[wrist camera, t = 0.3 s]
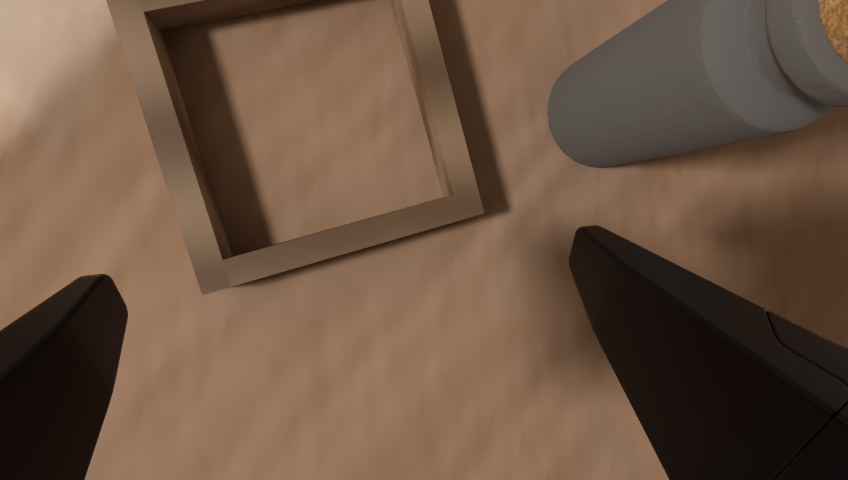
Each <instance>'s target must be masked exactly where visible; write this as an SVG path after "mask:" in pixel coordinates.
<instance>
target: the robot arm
mask: <svg viewBox="0 0 848 480" xmlns="http://www.w3.org/2000/svg"><path fill="white" fill-rule="evenodd" d="M569 266H570V270H571V273H572V275H573V278H574V281H575V284H576V286H577V289H578V292H579V294H580V297H581V300H582V302H583V305H584V308H585V310H586V313H587V316H588V318H589V321H590V323H591V326H592V328H593V330H594V332H595V335H596V337H597V339H598V341H599V343H600V345H601V347H602V349H603V351H604V352H605V354H606V356H607V358H608V360H609V362H610V364H611V366H612V368H613V370H614V372H615V374H616V376H617V378H618V380H619V382H620V384H621V386H622V388H623V390H624V392H625V394H626V396H627V397H628V399H629V401H630V403H631V405H632V407H633V409H634V411H635V413H636V415H637V417H638V419H639V421H640V423H641V425H642V427H643V429H644V431H645V433H646V435H647V437H648V439H649V441H650V442H651V444H652V446H653V448H654V450H655V452H656V454H657V456H658V458H659V460H660V462H661V464H662V466H663V468H664V470H665V472H666V474H667V476H668V478H669V480H848V349H847V348H845V347H843V346H840V345H838V344H836V343H834V342H832V341H829V340H827V339H825V338H823V337H821V336H819V335H817V334H814V333H812V332H810V331H808V330H806V329H804V328H802V327H800V326H798V325H796V324H794V323H792V322H790V321H788V320H786V319H784V318H782V317H780V316H778V315H776V314H774V313H772V312H770V311H767V312H766V311H765V309H764V308H762V307H760V306H758V305H756V304H754V303H752V302H750V301H748V300H746V299H744V298H742V297H740V296H738V295H736V294H734V293H732V292H730V291H728V290H726V289H724V288H722V287H720V286H718V285H716V284H714V283H712V282H710V281H708V280H706V279H704V278H702V277H700V276H698V275H696V274H694V273H692V272H690V271H688V270H686V269H684V268H682V267H680V266H678V265H676V264H674V263H672V262H670V261H668V260H666V259H664V258H662V257H660V256H658V255H656V254H654V253H652V252H650V251H648V250H646V249H644V248H642V247H640V246H638V245H636V244H634V243H632V242H630V241H628V240H626V239H624V238H622V237H620V236H618V235H616V234H614V233H612V232H610V231H608V230H606V229H604V228H602V227H600V226H597V225H594V226H584V227H580V228H578V229H577V231H576V233H575V237H574V240H573V244H572V248H571V252H570V256H569ZM127 319H128V311H127V307H126V304H125V302H124V301H123V299H122V297H121V295H120V293H119V291H118V289H117V287H116V285H115V284H114V282H113V280H112V279H111V277H110V276H108V275H106V274H97V275H86V276H81V277H79V278H77V279H76V280H74V281H73V282H72V283H70V284H69V285H67V286H66V287H64V288H63V289H61V290H60V291H58V292H57V293H55V294H54V295H52V296H51V297H49V298H48V299H46V300H45V301H43V302H42V303H41V304H39V305H38V306H36V307H35V308H33V309H32V310H30V311H29V312H27V313H26V314H24V315H23V316H21V317H20V318H18V319H17V320H15V321H14V322H13V323H11V324H10V325H8V326H7V327H5V328H4V329H2V330H1V331H0V480H84V479H85V476H86V473H87V470H88V467H89V464H90V461H91V458H92V455H93V452H94V449H95V446H96V443H97V440H98V437H99V434H100V431H101V428H102V425H103V421H104V418H105V415H106V412H107V409H108V406H109V403H110V400H111V396H112V393H113V389H114V384H115V380H116V375H117V370H118V365H119V360H120V355H121V350H122V344H123V339H124V334H125V329H126V324H127Z"/></svg>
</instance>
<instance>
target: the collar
mask: <svg viewBox="0 0 848 480" xmlns="http://www.w3.org/2000/svg"><path fill="white" fill-rule="evenodd" d="M106 1H107V4H108V7H109V10H110V13H111V16H112V19H113V22H114V25H115V28H116V32H117V35H118V38H119V41H120V44H121V47H122V50H123V53H124V56H125V59H126V62H127V65H128V68H129V71H130V75H131V78H132V81H133V84H134V87H135V90H136V93H137V96H138V99H139V102H140V105H141V108H142V111H143V114H144V118H145V121H146V124H147V127H148V130H149V133H150V136H151V139H152V142H153V145H154V148H155V151H156V154H157V157H158V160H159V164H160V167H161V170H162V173H163V176H164V179H165V182H166V185H167V188H168V191H169V194H170V197H171V200H172V203H173V207H174V210H175V213H176V216H177V219H178V222H179V225H180V228H181V231H182V234H183V237H184V240H185V243H186V246H187V249H188V253H189V256H190V259H191V262H192V265H193V268H194V271H195V274H196V277H197V280H198V283H199V286H200V289H201V292H202V295H204V294H208V293H211V292H215V291H218V290H222V289H225V288H229V287H232V286H235V285H239V284H242V283H246V282H249V281H253V280H256V279H260V278H263V277H267V276H270V275H273V274H277V273H280V272H284V271H287V270H291V269H294V268H298V267H301V266H304V265H308V264H311V263H315V262H318V261H322V260H325V259H329V258H332V257H336V256H339V255H342V254H346V253H349V252H353V251H356V250H360V249H363V248H367V247H370V246H374V245H377V244H380V243H384V242H387V241H391V240H394V239H398V238H401V237H405V236H408V235H412V234H415V233H418V232H422V231H425V230H429V229H432V228H436V227H439V226H443V225H446V224H449V223H453V222H456V221H460V220H463V219H467V218H470V217H474V216H477V215H481V214H484V210H483V206H482V202H481V198H480V194H479V191H478V187H477V183H476V179H475V175H474V172H473V168H472V164H471V160H470V156H469V153H468V149H467V145H466V141H465V137H464V134H463V130H462V126H461V122H460V118H459V115H458V111H457V107H456V103H455V99H454V95H453V92H452V88H451V84H450V80H449V76H448V73H447V69H446V65H445V61H444V57H443V54H442V50H441V46H440V42H439V38H438V35H437V31H436V27H435V23H434V19H433V16H432V12H431V8H430V4H429V0H391V2H392V6H393V10H394V14H395V17H396V21H397V25H398V28H399V32H400V36H401V39H402V43H403V47H404V51H405V54H406V58H407V62H408V65H409V69H410V73H411V76H412V80H413V84H414V88H415V91H416V95H417V99H418V102H419V106H420V110H421V113H422V117H423V121H424V125H425V128H426V132H427V136H428V139H429V143H430V147H431V150H432V154H433V158H434V162H435V165H436V169H437V173H438V176H439V180H440V184H441V188H442V191H443V195H444V197H443V198H440V199H436V200H433V201H429V202H425V203H422V204H418V205H415V206H411V207H407V208H404V209H400V210H397V211H393V212H390V213H386V214H382V215H379V216H375V217H372V218H368V219H365V220H361V221H357V222H354V223H350V224H347V225H343V226H339V227H336V228H332V229H329V230H325V231H322V232H318V233H314V234H311V235H307V236H304V237H300V238H297V239H293V240H289V241H286V242H282V243H279V244H275V245H271V246H268V247H264V248H261V249H257V250H254V251H250V252H246V253H243V254H239V255H236V256H233V255H232V252H231V249H230V245H229V242H228V239H227V236H226V233H225V230H224V226H223V223H222V220H221V217H220V214H219V211H218V208H217V204H216V201H215V198H214V195H213V192H212V189H211V185H210V182H209V179H208V176H207V173H206V170H205V166H204V163H203V160H202V157H201V154H200V151H199V148H198V144H197V141H196V138H195V135H194V132H193V129H192V125H191V122H190V119H189V116H188V113H187V110H186V107H185V103H184V100H183V97H182V94H181V91H180V88H179V84H178V81H177V78H176V75H175V72H174V69H173V66H172V62H171V59H170V56H169V53H168V50H167V47H166V43H165V40H164V37H163V34H162V31H166V30H171V29H176V28H181V27H186V26H192V25H197V24H202V23H207V22H212V21H217V20H222V19H227V18H232V17H237V16H242V15H247V14H252V13H257V12H263V11H268V10H273V9H278V8H283V7H288V6H293V5H298V4H303V3H308V2H313V1H318V0H106Z"/></svg>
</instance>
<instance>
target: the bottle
mask: <svg viewBox="0 0 848 480" xmlns="http://www.w3.org/2000/svg"><path fill="white" fill-rule="evenodd" d="M833 106H838V107H841V106H848V0H668V1H666V2H665V3H663V4H662V5H660V6H659V7H657V8H656V9H654V10H653V11H651V12H650V13H648V14H647V15H645V16H644V17H642V18H641V19H639V20H638V21H636V22H635V23H633V24H632V25H630V26H628V27H627V28H625V29H624V30H622V31H621V32H619V33H618V34H616V35H615V36H613V37H612V38H610V39H609V40H607V41H606V42H604V43H603V44H601V45H600V46H598V47H597V48H595V49H594V50H592V51H591V52H590V53H588V54H587V55H585V56H584V57H582V58H581V59H579V60H578V61H576V62H575V63H574V64H572V65H571V66H570V67H568V68H567V69H566V70H565V71H564V72H563V73H562V74H561V76H560V77H559V78H558V80H557V81H556V83H555V85H554V87H553V89H552V92H551V95H550V99H549V106H548V117H549V125H550V129H551V132H552V134H553V137H554V139H555V141H556V142H557V144H558V145H559V147H560V148H561V149H562V150H563V152H564V153H565V154H566V155H567V156H569V157H570V158H572V159H573V160H575V161H576V162H578V163H580V164H583V165H586V166H589V167H599V168H601V167H611V166H617V165H623V164H629V163H634V162H639V161H645V160H650V159H655V158H661V157H666V156H671V155H677V154H682V153H687V152H693V151H698V150H703V149H708V148H713V147H718V146H723V145H728V144H733V143H738V142H743V141H748V140H753V139H758V138H763V137H768V136H773V135H777V134H782V133H786V132H791V131H794V130H797V129H800V128H803V127H806V126H808V125H811V124H812V123H814V122H815V121H817V120H819V119H820V118H822V117H823V116H824V115H825V114H826V113H827V112H828V111H829V110H830V109H832V108H833Z"/></svg>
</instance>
